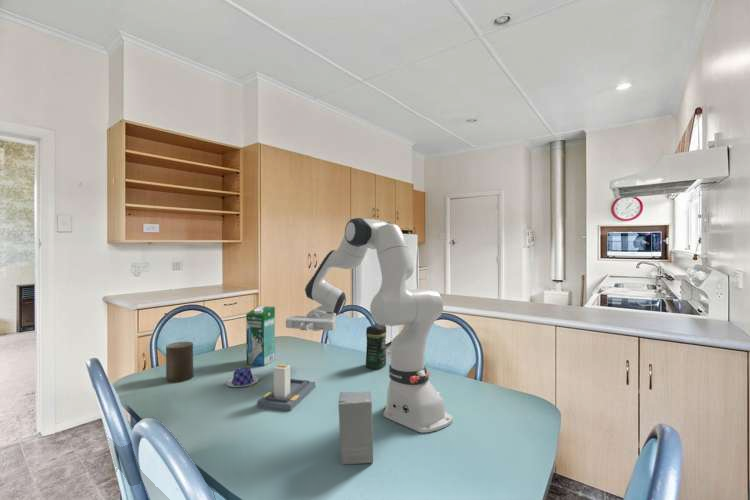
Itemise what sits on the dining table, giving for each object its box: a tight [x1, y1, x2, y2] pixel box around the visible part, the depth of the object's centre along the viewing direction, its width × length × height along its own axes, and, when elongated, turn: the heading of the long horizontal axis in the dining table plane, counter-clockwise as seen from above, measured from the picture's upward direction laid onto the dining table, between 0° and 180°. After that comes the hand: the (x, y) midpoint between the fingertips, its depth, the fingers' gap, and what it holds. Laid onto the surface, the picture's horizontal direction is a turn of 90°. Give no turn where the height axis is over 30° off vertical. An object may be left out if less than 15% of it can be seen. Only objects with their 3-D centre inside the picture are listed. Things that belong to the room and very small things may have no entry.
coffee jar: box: [365, 322, 387, 370], centre depth 159 cm, size 10×8×19 cm
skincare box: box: [338, 390, 374, 466], centre depth 90 cm, size 8×7×16 cm
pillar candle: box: [165, 341, 194, 383], centre depth 145 cm, size 10×10×15 cm
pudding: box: [225, 367, 260, 388], centre depth 141 cm, size 12×12×5 cm
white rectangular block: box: [273, 363, 291, 398], centre depth 123 cm, size 4×4×10 cm
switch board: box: [256, 378, 316, 412], centre depth 127 cm, size 20×12×3 cm, turn 166°
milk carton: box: [245, 305, 276, 367], centre depth 165 cm, size 9×9×25 cm
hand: (303, 328), depth 138 cm, fingers closed
